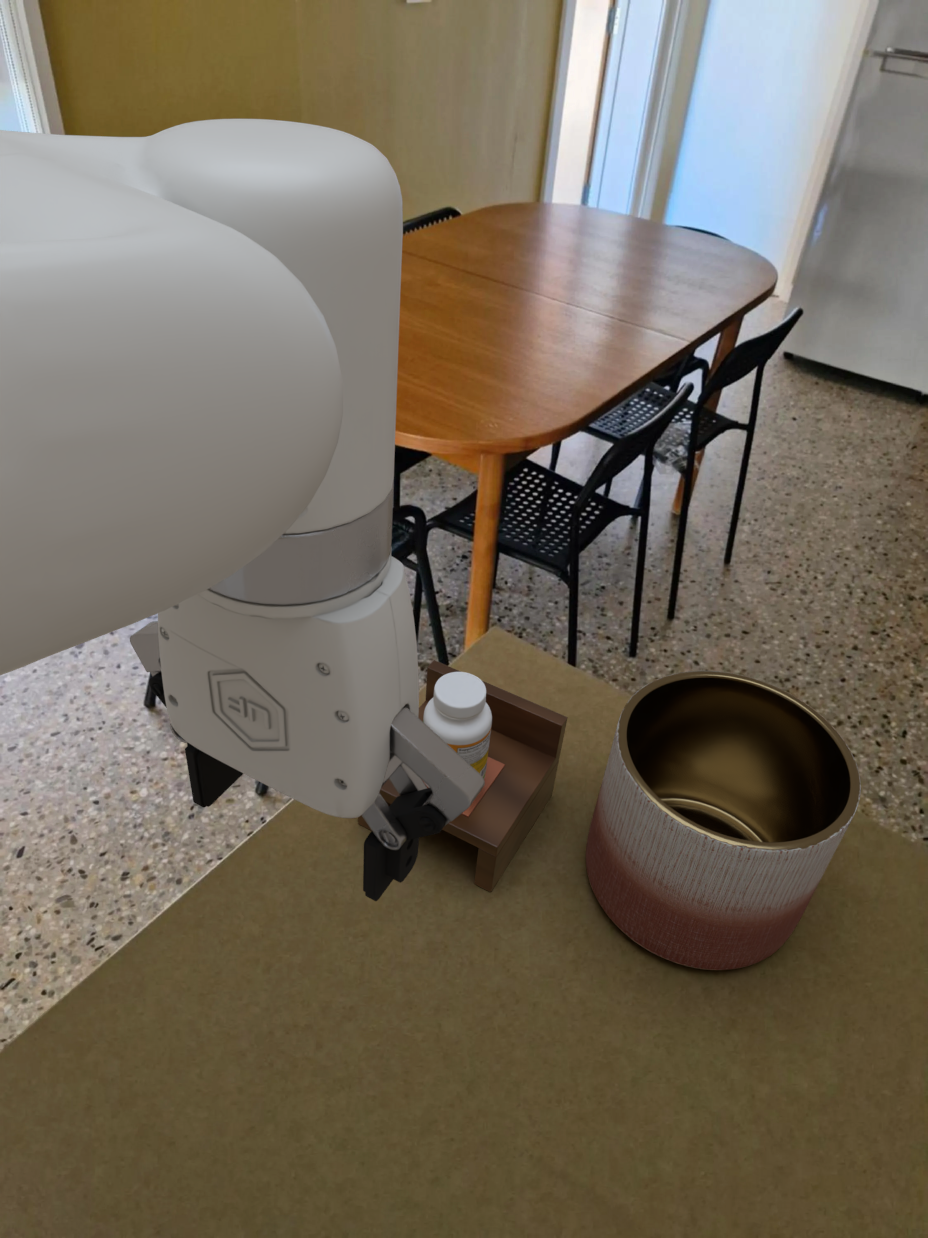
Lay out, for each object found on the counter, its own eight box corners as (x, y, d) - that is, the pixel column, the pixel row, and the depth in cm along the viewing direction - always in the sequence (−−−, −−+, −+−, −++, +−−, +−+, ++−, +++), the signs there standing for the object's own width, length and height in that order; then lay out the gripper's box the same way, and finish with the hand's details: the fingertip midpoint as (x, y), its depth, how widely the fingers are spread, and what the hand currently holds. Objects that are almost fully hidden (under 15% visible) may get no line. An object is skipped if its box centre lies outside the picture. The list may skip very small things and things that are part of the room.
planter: (540, 879, 73) (566, 749, 63) (655, 764, 84) (693, 638, 74) (730, 1026, 65) (795, 902, 55) (832, 877, 75) (902, 751, 65)
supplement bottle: (409, 761, 74) (413, 676, 68) (466, 742, 76) (474, 657, 70) (437, 808, 70) (444, 722, 64) (496, 786, 73) (508, 701, 67)
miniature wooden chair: (490, 893, 72) (502, 814, 66) (357, 824, 76) (356, 744, 70) (552, 794, 80) (567, 717, 74) (429, 737, 85) (434, 659, 78)
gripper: (24, 491, 32) (105, 805, 42) (446, 671, 26) (417, 983, 36) (174, 417, 37) (212, 712, 48) (550, 553, 31) (499, 854, 42)
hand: (301, 829), depth 42 cm, fingers open, 9 cm apart
